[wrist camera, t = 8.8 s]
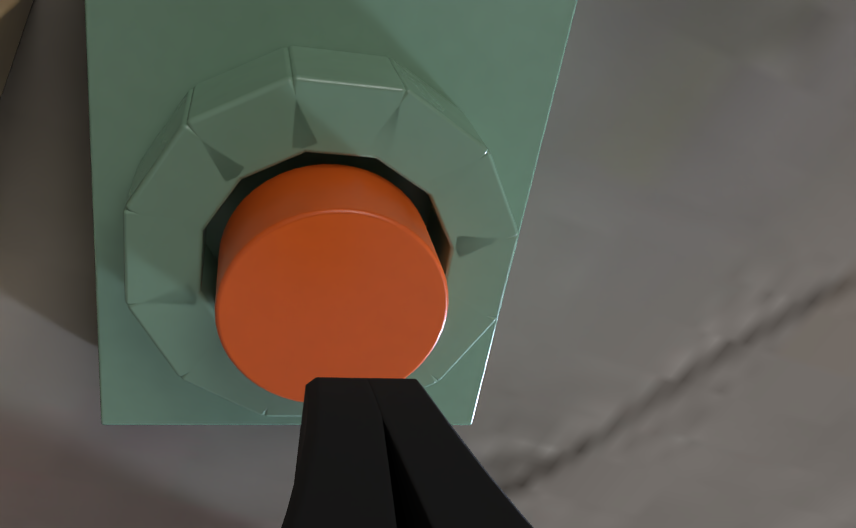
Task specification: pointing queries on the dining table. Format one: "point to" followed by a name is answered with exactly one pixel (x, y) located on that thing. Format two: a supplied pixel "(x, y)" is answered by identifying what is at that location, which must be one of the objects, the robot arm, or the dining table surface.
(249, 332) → the button
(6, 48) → the wooden stand
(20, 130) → the dining table surface
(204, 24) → the button box
